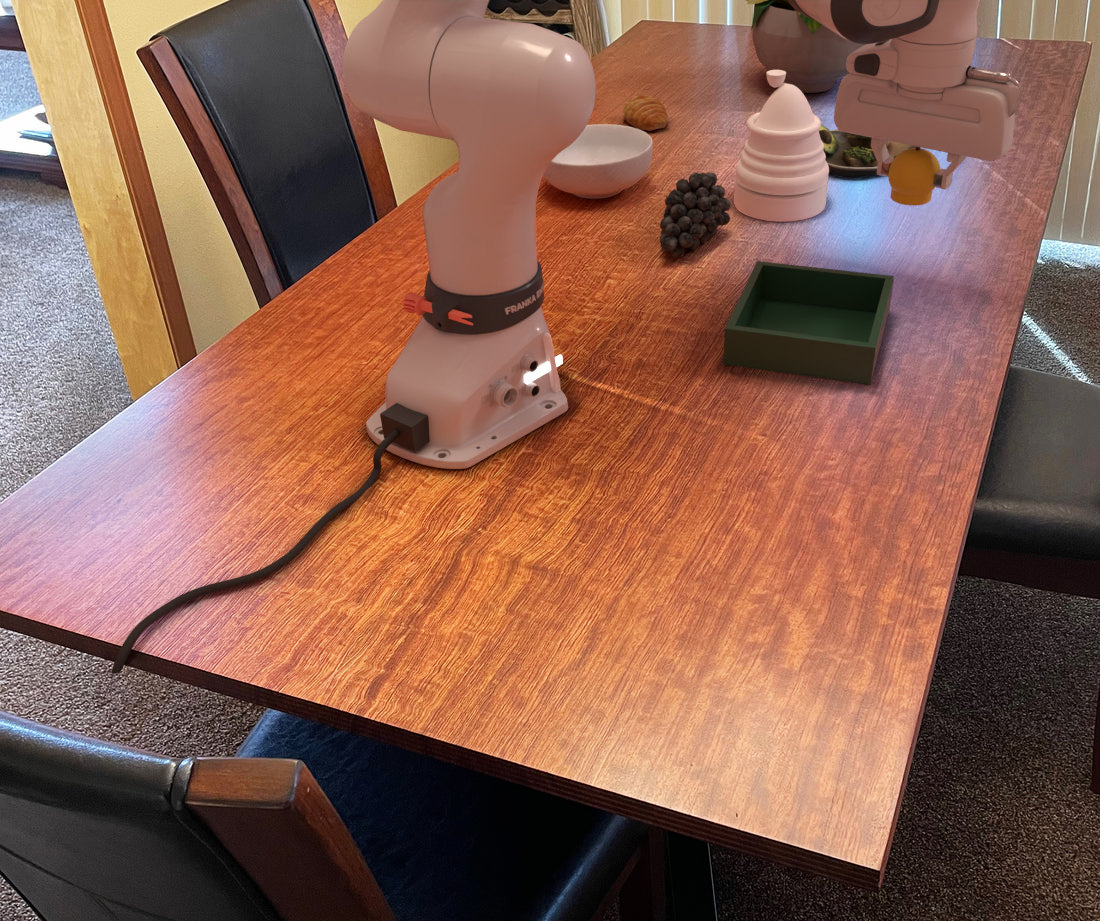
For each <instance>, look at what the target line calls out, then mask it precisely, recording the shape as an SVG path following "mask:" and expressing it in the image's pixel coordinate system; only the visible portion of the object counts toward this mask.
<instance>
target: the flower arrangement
mask: <svg viewBox="0 0 1100 921" xmlns="http://www.w3.org/2000/svg"><path fill="white" fill-rule="evenodd" d="M745 1H746V2H747V3H746V5H754V8H753V14H752V22H751V30H752V43H753V45H754V50H755V53H756V56H757V59H758V61H759V63H761V65H763V66H764V67H765V68H766V69H767V70H768V71H770V70H783V71H785V72H786V76H785V80H784V82H783V83H787V84H791V85H794V86H796V87H797V88H798V89H799V90H800V91H801V92H802V93H804V94H807V93H808V94H812V93H813V94H814V93H815V94H817V93H822V92H827V91H829V90H832V89H833V88H834V87H835V85H836V83H837V80H839V79H840V78H842V77H845V76H846V75H847V74H849V72H848V71H847V69H846V60H847V57H848V55H850V54H851V53H852V52H854V51H855V50H857V49H858V48H860V47H862V46H864V45H866V44H858V43H854V42H851V41H848V40H846V39H844V38H842V37H841V36H839V35H838V34H836V33H834V32H832V31H831V30H829V29H828V28H826V27H825V26H823V25H822V24H820V23H819V22H817V21H815V20H813V19H810V18H808V17H806V16H804V15H802V14H800V13H799V12H798V11H796V10H795V9H794V8H793V7H792V5H791V4H790V3H789V1H788V0H745Z"/></svg>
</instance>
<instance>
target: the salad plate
mask: <svg viewBox="0 0 1100 921" xmlns="http://www.w3.org/2000/svg"><path fill="white" fill-rule="evenodd" d="M818 131H819V134H820V138H821V140H822V142H823V144H824V148H823V151H824V153H825V155H826V159H825V160H826V162H827V164H828V166H829V174H828V175H830V176H833V177H839V178H844V179H858V178H859V179H860V178H868V177H871V176H872V177H873V176H875V175H877V167H878V161H877V159H876V157H875V155H874V152H873V150H872V148H871V139H872V137H867V136H862V135H857V134H852V133H847V132H842V131H839V130H838V128H835V129H831V130H830V129H829V128H827V127H826V126H825V125H823V124H821V127H820V129H819V130H818ZM886 147H887V150H888V153H889V156H890V158H895V157H896V156H897V155H898V154H900V153H901V152H903V151H905V150H907V149H911V148H916V146H911V145H907V144H902V143H897V142H892V141H890V142H888V143H887V144H886Z"/></svg>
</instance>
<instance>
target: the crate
mask: <svg viewBox="0 0 1100 921" xmlns="http://www.w3.org/2000/svg"><path fill="white" fill-rule="evenodd" d="M752 269H753V270H752V271H751V273H750V275H749V277H748V279H747V281H746V283H745V286H744V288H743V290H742V291H741V294H740V296H739V298H738V300H737V302H736V304H735V306H734V308H733V311H732V312H731V315H730V317H729V319H728V321H727V323H726V325H725V327H724V341H723V342H724V343H723V362H722V363H723V366H731V367H737V368H738V367H739V368H745V369H752V370H760V371H765V372H766V371H767V372H775V373H781V374H788V375H795V376H801V377H810V378H816V379H824V380H832V381H836V382H837V381H839V382H845V383H852V384H859V385H867V386H871V385H872V381H873V378H874V375H875V374H874V373H875V370H876V365H877V363H878V362H877V361H878V357H879V353H880V350H881V346H882V341H883V337H884V333H885V330H886V326H887V322H888V317H889V313H890V308H891V302H892V295H893V288H894V280H895V276H894V275H890V274H889V275H888V274H879V273H872V272H870V273H869V272H862V271H851V270H842V269H834V268H824V267H816V266H806V265H798V264H788V263H779V262H769V261H761V260H760V261H759V260H756V263H755V264H754V267H753V268H752Z"/></svg>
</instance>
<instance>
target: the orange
mask: <svg viewBox="0 0 1100 921" xmlns="http://www.w3.org/2000/svg"><path fill="white" fill-rule="evenodd" d="M940 169H941V166H940V163H939V160H938V157H936V156H935V154H933V152H931V151H930V150H929V149H926V148H921V147H916V148H911V149H907V150H905V151H903V152H901V153H900V154H898V155H897V156H896V157H895V158H894V160H893V161H892V163H891V165H890V168H889V172H888V183H889V186H890V188H891V190H890V199H891V200H892V201H893V202H895V203H896V204H900V205H904V206H923V205H926V204H928V203H930V202H931V200H932V194H933V191H934V190H935V188H936V187H933V183H934V182H935V180H934V177H935V173H936V172H938V171H939V170H940Z"/></svg>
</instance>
